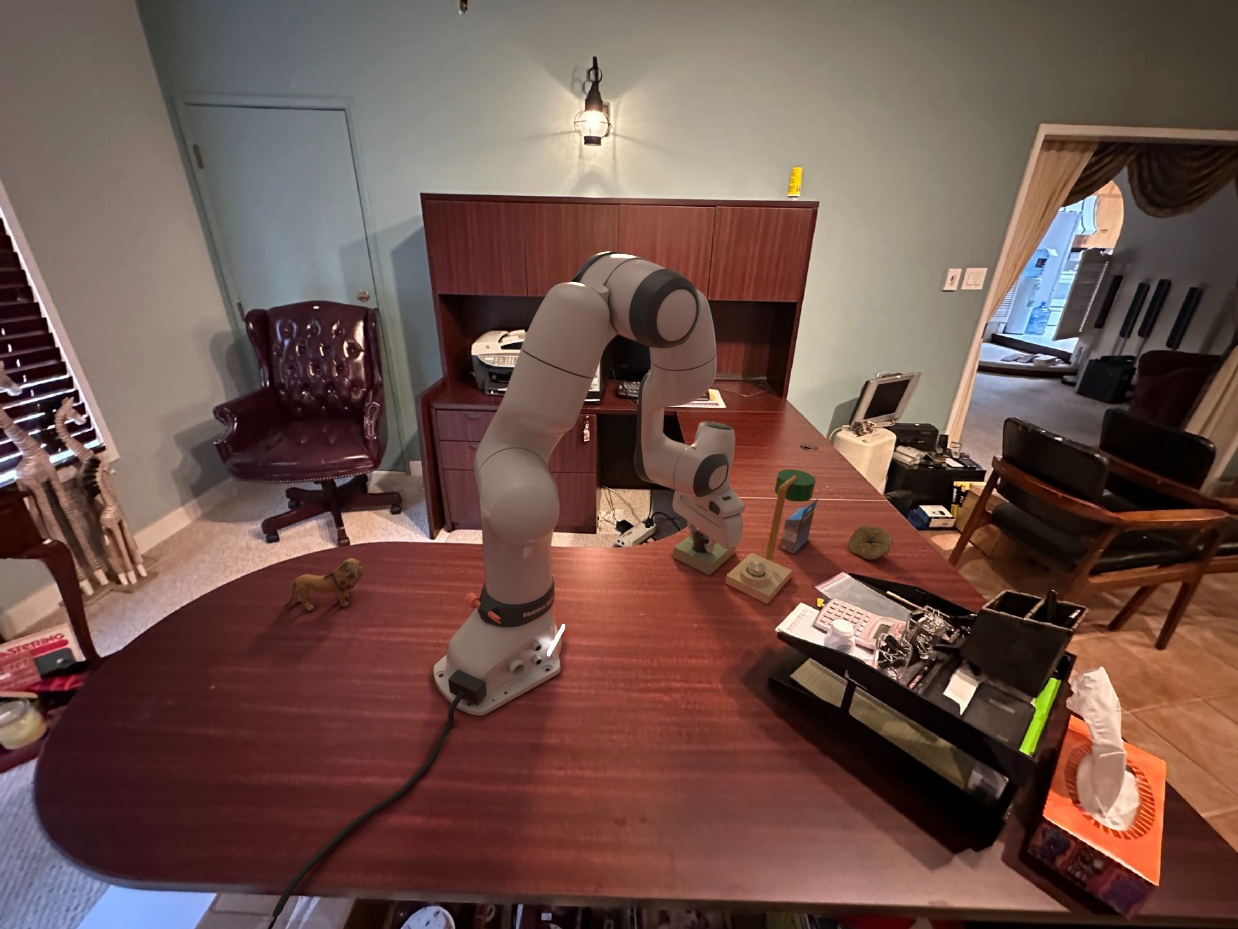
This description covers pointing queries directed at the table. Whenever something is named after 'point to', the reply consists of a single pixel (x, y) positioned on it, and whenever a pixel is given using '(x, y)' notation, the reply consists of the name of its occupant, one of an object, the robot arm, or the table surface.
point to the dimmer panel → (702, 556)
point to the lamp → (788, 498)
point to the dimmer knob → (700, 541)
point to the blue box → (797, 528)
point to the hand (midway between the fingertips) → (701, 544)
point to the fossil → (870, 542)
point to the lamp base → (759, 578)
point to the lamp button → (756, 569)
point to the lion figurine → (328, 583)
